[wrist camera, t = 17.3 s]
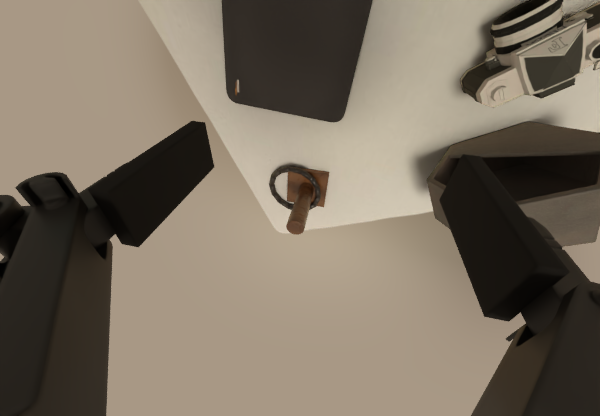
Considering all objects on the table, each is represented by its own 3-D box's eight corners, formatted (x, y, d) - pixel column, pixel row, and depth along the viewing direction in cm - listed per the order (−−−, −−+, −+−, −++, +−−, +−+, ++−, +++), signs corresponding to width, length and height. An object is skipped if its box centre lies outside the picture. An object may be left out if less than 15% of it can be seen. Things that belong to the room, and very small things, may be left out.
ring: (269, 159, 48) (267, 162, 47) (325, 173, 46) (324, 176, 45) (270, 201, 56) (268, 204, 55) (318, 214, 54) (317, 217, 53)
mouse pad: (217, -105, 28) (216, -106, 28) (391, -78, 27) (392, -79, 27) (227, 100, 43) (226, 101, 43) (342, 123, 42) (341, 124, 41)
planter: (620, 112, 30) (602, 225, 21) (608, 165, 34) (589, 280, 25) (462, 128, 43) (409, 203, 34) (466, 165, 47) (420, 241, 38)
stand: (289, 166, 49) (271, 205, 39) (329, 172, 48) (321, 213, 38) (288, 198, 54) (272, 240, 44) (324, 204, 53) (316, 248, 43)
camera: (617, -54, 26) (731, -85, 18) (615, 32, 29) (707, 37, 22) (449, 43, 33) (478, 51, 25) (464, 102, 37) (493, 125, 29)
